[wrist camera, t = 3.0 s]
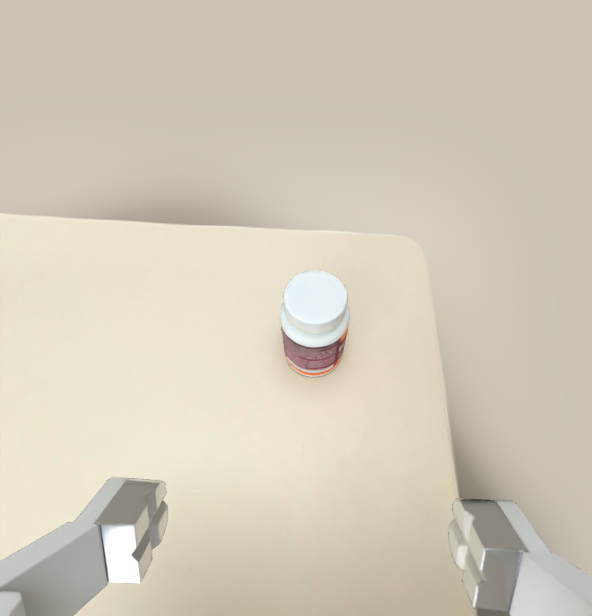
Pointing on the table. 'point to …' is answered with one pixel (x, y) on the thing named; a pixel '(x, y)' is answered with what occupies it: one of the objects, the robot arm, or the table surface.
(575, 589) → the robot arm
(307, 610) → the table surface
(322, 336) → the pill bottle
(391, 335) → the table surface
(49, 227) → the table surface
